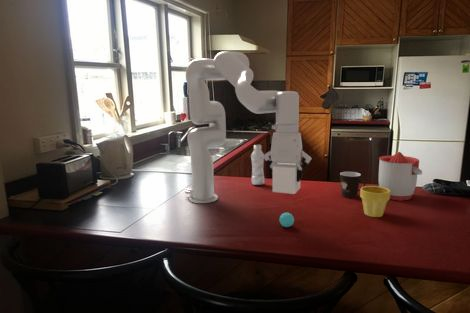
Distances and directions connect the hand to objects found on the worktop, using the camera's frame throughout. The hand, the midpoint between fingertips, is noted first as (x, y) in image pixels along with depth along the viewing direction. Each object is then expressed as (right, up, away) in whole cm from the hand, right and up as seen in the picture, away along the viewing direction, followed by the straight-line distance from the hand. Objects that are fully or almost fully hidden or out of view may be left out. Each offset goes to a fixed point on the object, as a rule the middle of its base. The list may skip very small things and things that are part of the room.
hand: (286, 179), depth 123 cm
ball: (0, -14, +2) cm, 14 cm away
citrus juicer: (+53, -10, +32) cm, 63 cm away
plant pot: (+35, -14, +13) cm, 40 cm away
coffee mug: (+33, -10, +34) cm, 48 cm away
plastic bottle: (-6, -6, +56) cm, 57 cm away
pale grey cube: (0, -4, +1) cm, 4 cm away
